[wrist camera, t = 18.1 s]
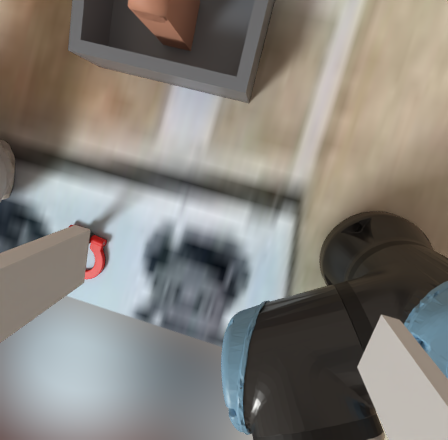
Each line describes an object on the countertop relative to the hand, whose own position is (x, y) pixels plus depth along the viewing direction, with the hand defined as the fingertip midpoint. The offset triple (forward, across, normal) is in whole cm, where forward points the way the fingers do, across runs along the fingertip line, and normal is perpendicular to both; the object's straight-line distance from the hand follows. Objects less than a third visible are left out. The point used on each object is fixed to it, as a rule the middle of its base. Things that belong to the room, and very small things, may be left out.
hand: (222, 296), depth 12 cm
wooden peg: (+31, +16, -20) cm, 40 cm away
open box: (+32, +16, -20) cm, 41 cm away
